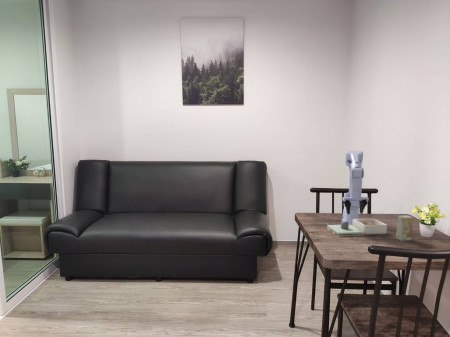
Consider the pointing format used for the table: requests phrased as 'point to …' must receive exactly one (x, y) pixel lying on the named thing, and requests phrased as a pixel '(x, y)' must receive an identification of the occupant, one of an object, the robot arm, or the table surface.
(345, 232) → the lid
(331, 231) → the birch board
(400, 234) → the skincare box
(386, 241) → the table surface
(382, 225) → the storage box
